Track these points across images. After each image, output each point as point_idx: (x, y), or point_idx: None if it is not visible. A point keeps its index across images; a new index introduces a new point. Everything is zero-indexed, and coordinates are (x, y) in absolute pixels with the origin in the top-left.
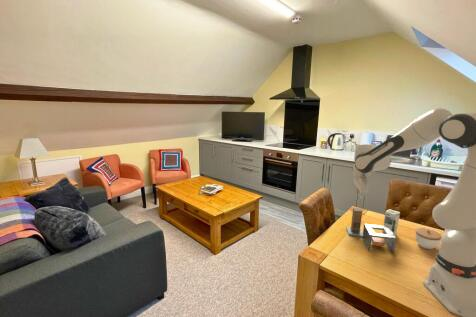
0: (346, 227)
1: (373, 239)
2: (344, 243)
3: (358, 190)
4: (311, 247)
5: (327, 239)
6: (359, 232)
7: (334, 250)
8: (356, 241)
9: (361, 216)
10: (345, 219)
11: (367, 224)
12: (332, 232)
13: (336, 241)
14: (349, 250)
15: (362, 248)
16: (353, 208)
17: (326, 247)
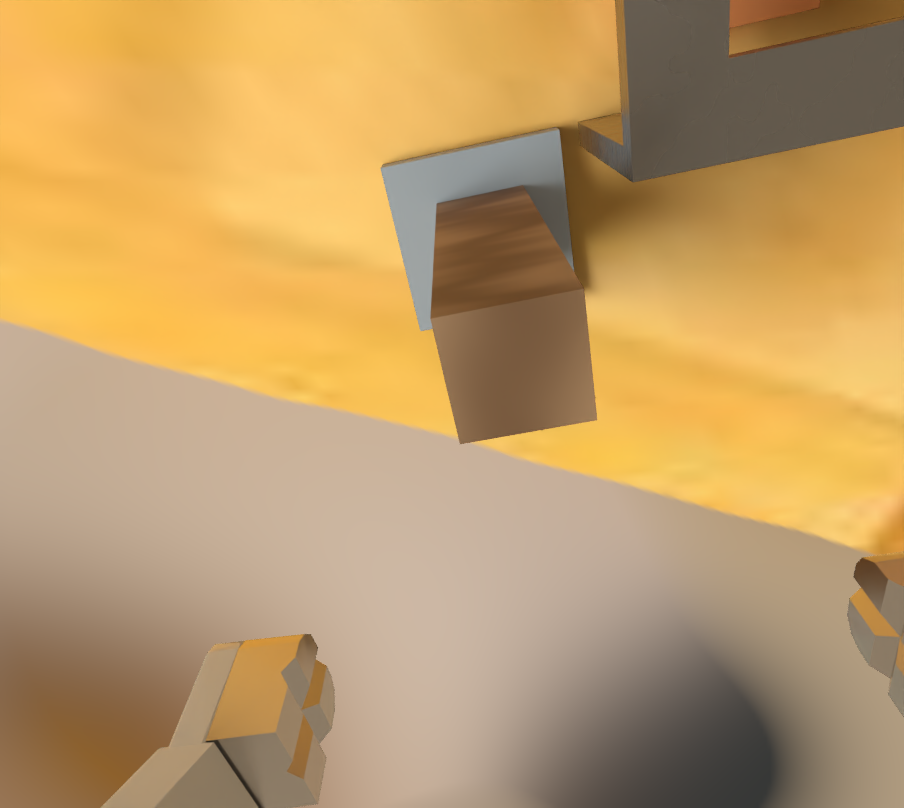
0: (422, 329)
1: (749, 14)
2: (753, 326)
3: (296, 757)
4: (870, 546)
5: (715, 462)
6: (525, 190)
7: (894, 397)
8: (681, 212)
9: (563, 256)
10: (186, 341)
11: (650, 128)
12: (567, 437)
13: (732, 394)
14: (879, 277)
15: (819, 148)
16: (489, 436)
17: (854, 456)
